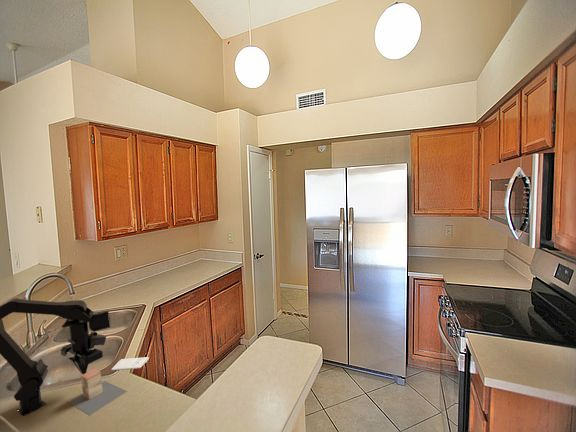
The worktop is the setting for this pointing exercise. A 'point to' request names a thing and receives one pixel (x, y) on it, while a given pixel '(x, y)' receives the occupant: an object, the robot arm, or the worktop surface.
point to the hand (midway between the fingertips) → (84, 373)
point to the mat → (98, 398)
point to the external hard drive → (130, 363)
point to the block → (91, 384)
